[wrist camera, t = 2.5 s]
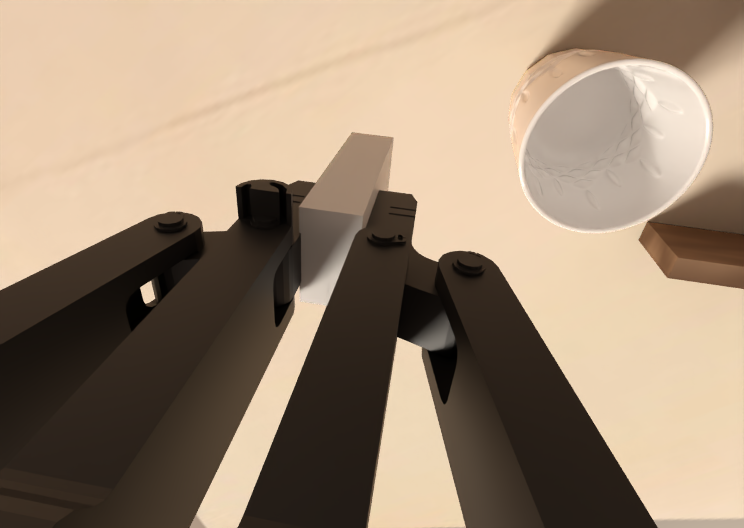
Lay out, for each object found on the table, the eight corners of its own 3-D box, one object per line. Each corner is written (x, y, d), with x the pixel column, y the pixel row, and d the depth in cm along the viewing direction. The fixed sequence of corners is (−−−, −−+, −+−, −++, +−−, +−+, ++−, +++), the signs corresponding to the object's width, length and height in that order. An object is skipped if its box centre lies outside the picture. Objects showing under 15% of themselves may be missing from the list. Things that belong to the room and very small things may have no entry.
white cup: (595, 5, 25) (668, 12, 16) (652, 118, 27) (742, 173, 19) (475, 95, 28) (485, 138, 20) (536, 187, 31) (569, 260, 22)
